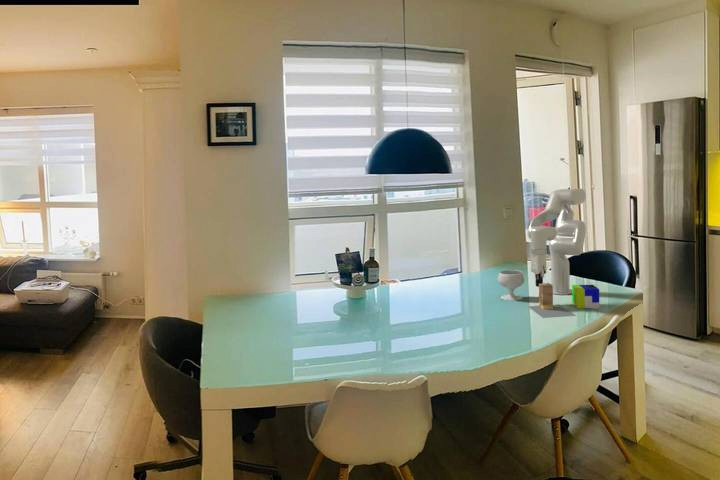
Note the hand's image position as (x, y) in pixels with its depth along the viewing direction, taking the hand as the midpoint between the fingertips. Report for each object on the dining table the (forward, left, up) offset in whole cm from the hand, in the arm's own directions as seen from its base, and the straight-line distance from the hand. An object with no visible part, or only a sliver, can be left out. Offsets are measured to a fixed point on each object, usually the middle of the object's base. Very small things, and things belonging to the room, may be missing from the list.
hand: (539, 286), depth 233 cm
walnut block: (+8, 0, -9) cm, 12 cm away
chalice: (-15, -10, -10) cm, 21 cm away
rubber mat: (+14, 0, -10) cm, 17 cm away
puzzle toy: (+8, +20, -10) cm, 24 cm away
